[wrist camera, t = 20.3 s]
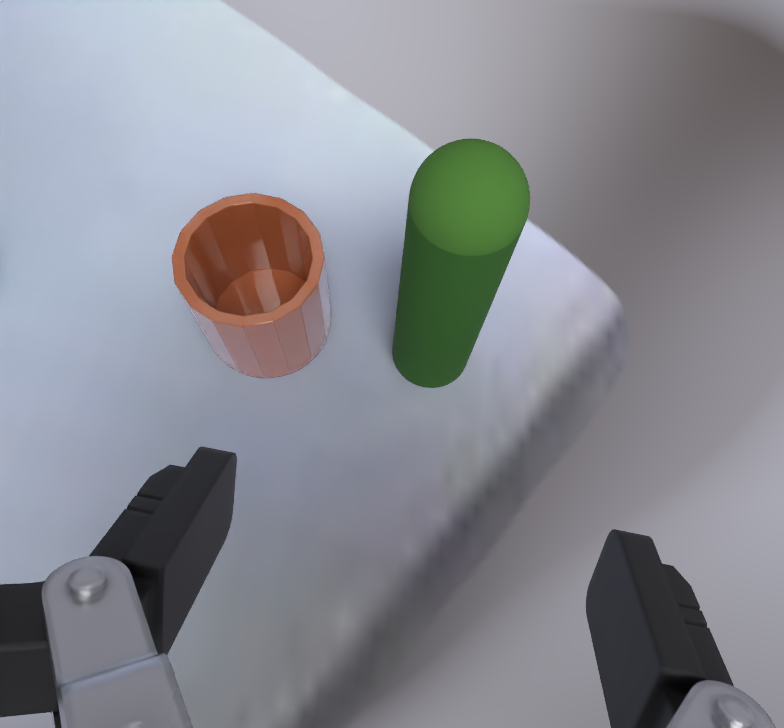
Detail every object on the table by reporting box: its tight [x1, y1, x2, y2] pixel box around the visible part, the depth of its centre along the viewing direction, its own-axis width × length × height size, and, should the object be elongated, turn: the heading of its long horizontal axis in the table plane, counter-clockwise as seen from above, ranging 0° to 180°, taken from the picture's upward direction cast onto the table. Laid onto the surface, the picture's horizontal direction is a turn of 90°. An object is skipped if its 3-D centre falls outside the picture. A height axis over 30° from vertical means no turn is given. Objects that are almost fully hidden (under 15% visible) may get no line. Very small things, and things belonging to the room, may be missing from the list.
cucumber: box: [393, 139, 530, 388], centre depth 26 cm, size 4×4×15 cm
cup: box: [172, 193, 331, 378], centre depth 31 cm, size 6×6×6 cm
